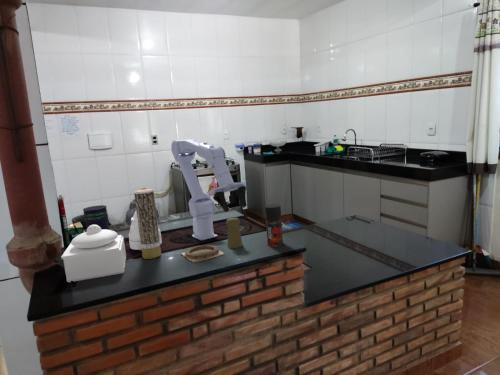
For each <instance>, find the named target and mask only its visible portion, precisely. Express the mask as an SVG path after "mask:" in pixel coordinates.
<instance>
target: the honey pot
mask: <svg viewBox="0 0 500 375" xmlns="http://www.w3.org/2000/svg"><path fill="white" fill-rule="evenodd" d="M130 221H131V223H130V226H129V233H128V240H129V241H128V242H129V248H130V249H131V250H133V251H134V250H135V251H136V250H138V251H142V249H141V242H140V234H139V226H138V218H137V211H136V210H135V212H134V214H133V216H132V217H131V218H130ZM158 231H159V240H160V245H162V243H163V240H162V234H161V229H160V227H159V226H158Z"/></svg>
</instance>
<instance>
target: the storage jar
mask: <svg viewBox="0 0 500 375" xmlns="http://www.w3.org/2000/svg"><path fill="white" fill-rule="evenodd" d="M82 211H83V219H84V220H83V221H84V222H85V228H86V230H85V232H86V231H87V228H88V227H89V226H90V225H98V226H99V227H100V228H101V230H103V229H105V230H111V228H110V226H109V215H108V213H109V212H108V209H107V205H93V206H88V207H84V208H82Z"/></svg>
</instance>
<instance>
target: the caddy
mask: <svg viewBox="0 0 500 375" xmlns="http://www.w3.org/2000/svg"><path fill="white" fill-rule="evenodd" d="M181 254H182V255H183V256H182V255H181ZM180 255H181V256H182V257H184V258H185V257H186V258H185V259H187V260H189V261H190V262H192V263H193V264H195V263H199V262H202V261H206V260H210V259H213V258H217V257H220V256H224V255H225V253H224V252H223V251H222V250H219V247H218V246H217V245H214V244H200V245H195V246H192V247H190V248H187V249H186V250H185V251H184V252H180Z"/></svg>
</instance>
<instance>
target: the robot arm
mask: <svg viewBox="0 0 500 375" xmlns="http://www.w3.org/2000/svg"><path fill="white" fill-rule="evenodd" d="M170 147H171V148H170V149H171V153H172V156H173V158H174V161H175V162H176V163H178V165H179V168H180V170H181V172H182V175H183V178H184V181H185V183H186V185H187V188H188V191H189V193H190V196H191V198H190V199H189V201H188V203H187V204H188V208H189V213H190V216H192V218H193V219H192V230H193V234H191V236H192V237H193V238H195V239H198V240H199V241H205V240H208V239H213V238H216V237H218V234H215V233H214V225H213V224H214V223H213V216H214V214H215V212H216V209H217V208H216V204H215V202H216V203H217V204H219V206H220V207H221V208H222V209H223V211H224V212H225V213H227V212H229V210H230V208H229V205H228V203H227V200H226V196H225V193H228V192H233V191H236V192H235V195H236V197H237V198H238V200H239V202H240V205H241V207H242V208H246V207H247V200H246V193H247V184H246V183H245V182H243V181H242V182H234V179H233V177H232V174H231V172H230V169H229V167H228V164H227V163H226V152H225V149H224V148H223V147H221V146H218V147H215V146H214V145H213V144H212V145H210V144H209V143H208V142H206V141H205V142H201V143H200V142H197V141H196V139H194V138H189V139H178V140H176V139H173V140H172V142H171V146H170ZM196 154H197V155H198V157H200V158H202V159H204V160H205V162H206V164H208V167H209V168H210V169H211V170H212V172H213V175H214V176H215V179H216V182H217V184H218V185H217V187H215V188H211V189H210V190H209V194H210V195H208V194H207V193H205V192H204V191H203V188H202V186H201V184H200V181H199V179H198V177H197V176H198V175H197V173H196V172H195V169H194V167H193V164H192V161H194V159H195V157H196ZM212 198H213V199H212ZM214 201H215V202H214Z"/></svg>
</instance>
